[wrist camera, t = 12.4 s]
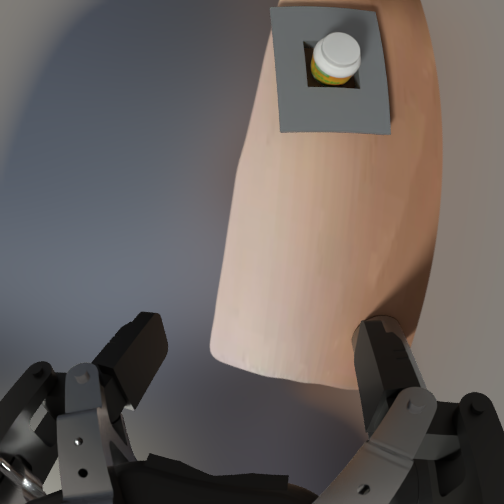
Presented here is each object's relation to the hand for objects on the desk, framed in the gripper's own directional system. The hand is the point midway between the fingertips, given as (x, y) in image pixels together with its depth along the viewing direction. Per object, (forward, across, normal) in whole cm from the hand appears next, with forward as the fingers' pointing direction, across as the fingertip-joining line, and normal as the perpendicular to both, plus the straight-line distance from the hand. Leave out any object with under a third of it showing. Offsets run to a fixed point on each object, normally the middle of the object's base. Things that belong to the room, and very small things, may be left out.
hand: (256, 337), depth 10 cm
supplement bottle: (+29, -7, -18) cm, 35 cm away
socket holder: (+29, -7, -18) cm, 35 cm away
